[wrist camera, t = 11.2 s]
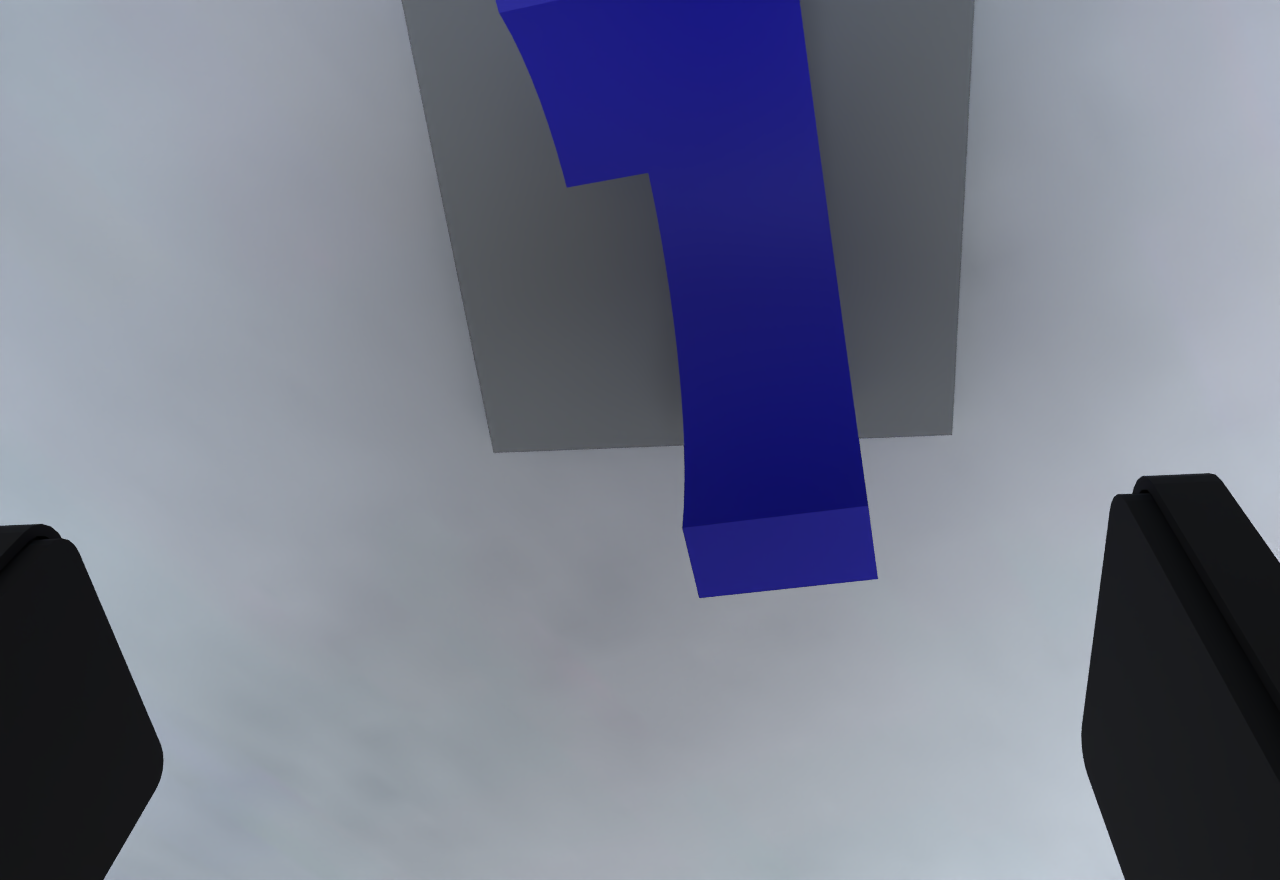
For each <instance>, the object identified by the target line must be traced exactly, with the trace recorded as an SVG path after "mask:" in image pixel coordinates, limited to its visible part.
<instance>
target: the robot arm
mask: <svg viewBox="0 0 1280 880" xmlns="http://www.w3.org/2000/svg"><path fill="white" fill-rule="evenodd" d="M1081 738H1082V752H1083V758H1084V763H1085V768H1086V771H1087V775H1088V777H1089V780H1090V783H1091V786H1092V789H1093V791H1094V794H1095V797H1096V800H1097V803H1098V805H1099V808H1100V811H1101V814H1102V817H1103V819H1104V822H1105V825H1106V828H1107V831H1108V833H1109V836H1110V839H1111V842H1112V845H1113V847H1114V850H1115V853H1116V856H1117V859H1118V861H1119V864H1120V867H1121V870H1122V873H1123V875H1124V878H1125V880H1280V563H1279V561H1278V560H1277V558H1276V557H1275V556H1274V554H1273V553H1272V551H1271V550H1270V549H1269V547H1268V546H1267V544H1266V543H1265V541H1264V540H1263V539H1262V537H1261V536H1260V534H1259V533H1258V531H1257V530H1256V529H1255V527H1254V526H1253V524H1252V523H1251V522H1250V520H1249V519H1248V517H1247V516H1246V514H1245V513H1244V512H1243V510H1242V509H1241V507H1240V506H1239V504H1238V503H1237V502H1236V500H1235V499H1234V497H1233V496H1232V495H1231V493H1230V492H1229V490H1228V489H1227V487H1226V486H1225V485H1224V483H1223V482H1222V481H1221V480H1220V479H1219V478H1218V477H1217V476H1216V475H1215V474H1210V473H1204V474H1181V475H1158V476H1142V477H1141V478H1139V479H1138V480H1137V482H1136V484H1135V486H1134V489H1133V493H1132V494H1117V495H1116V496H1115V497H1114V498H1113V501H1112V503H1111V508H1110V513H1109V521H1108V529H1107V536H1106V544H1105V552H1104V560H1103V567H1102V575H1101V583H1100V591H1099V598H1098V606H1097V614H1096V621H1095V629H1094V637H1093V645H1092V652H1091V660H1090V668H1089V675H1088V683H1087V691H1086V699H1085V706H1084V714H1083V722H1082V733H1081ZM162 771H163V751H162V747H161V744H160V742H159V739H158V737H157V735H156V732H155V730H154V727H153V725H152V723H151V720H150V718H149V716H148V713H147V711H146V709H145V706H144V704H143V702H142V699H141V697H140V695H139V692H138V690H137V688H136V685H135V683H134V680H133V678H132V676H131V673H130V671H129V669H128V666H127V664H126V662H125V659H124V657H123V655H122V652H121V650H120V648H119V645H118V643H117V640H116V638H115V636H114V633H113V631H112V629H111V626H110V624H109V622H108V619H107V617H106V615H105V612H104V610H103V608H102V605H101V603H100V601H99V598H98V596H97V593H96V591H95V589H94V586H93V584H92V582H91V579H90V577H89V575H88V572H87V570H86V568H85V565H84V563H83V561H82V558H81V556H80V553H79V552H78V550H77V548H76V547H75V545H74V544H73V543H72V542H70V541H69V540H66V539H63V538H61V536H60V535H59V533H58V532H57V531H55V530H54V529H53V528H52V527H50V526H47V525H44V524H31V525H8V526H0V880H103V879H104V878H105V876H106V874H107V873H108V871H109V869H110V867H111V866H112V864H113V862H114V861H115V859H116V857H117V855H118V854H119V852H120V850H121V848H122V847H123V845H124V843H125V842H126V840H127V838H128V836H129V835H130V833H131V831H132V830H133V828H134V826H135V824H136V823H137V821H138V819H139V818H140V816H141V814H142V812H143V811H144V809H145V807H146V805H147V804H148V802H149V800H150V799H151V797H152V795H153V793H154V792H155V790H156V788H157V786H158V784H159V782H160V779H161V775H162Z"/></svg>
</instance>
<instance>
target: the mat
mask: <svg viewBox="0 0 1280 880" xmlns="http://www.w3.org/2000/svg"><path fill="white" fill-rule="evenodd" d="M402 4H403V9H404V14H405V19H406V24H407V29H408V34H409V39H410V44H411V49H412V54H413V59H414V63H415V68H416V73H417V78H418V83H419V88H420V93H421V98H422V103H423V108H424V113H425V118H426V122H427V127H428V132H429V137H430V142H431V147H432V152H433V157H434V162H435V167H436V172H437V177H438V182H439V186H440V191H441V196H442V201H443V206H444V211H445V216H446V221H447V226H448V231H449V236H450V241H451V246H452V250H453V255H454V260H455V265H456V270H457V275H458V280H459V285H460V290H461V295H462V300H463V305H464V309H465V314H466V319H467V324H468V329H469V334H470V339H471V344H472V349H473V354H474V359H475V364H476V369H477V373H478V378H479V383H480V388H481V393H482V398H483V403H484V408H485V413H486V418H487V423H488V428H489V433H490V437H491V442H492V447H493V452H494V453H501V452H526V451H552V450H577V449H603V448H628V447H654V446H679V445H684V433H683V414H682V399H681V387H680V375H679V365H678V355H677V345H676V337H675V329H674V320H673V313H672V306H671V298H670V291H669V284H668V278H667V271H666V265H665V259H664V253H663V247H662V241H661V235H660V230H659V224H658V219H657V214H656V208H655V203H654V198H653V193H652V188H651V184H650V179H649V174H648V173H645V174H639V175H634V176H628V177H623V178H617V179H612V180H606V181H601V182H595V183H590V184H584V185H579V186H573V187H568V188H567V187H566V183H565V179H564V176H563V172H562V168H561V165H560V161H559V158H558V154H557V151H556V148H555V144H554V141H553V138H552V135H551V132H550V129H549V125H548V122H547V120H546V117H545V114H544V111H543V108H542V105H541V102H540V100H539V97H538V94H537V92H536V89H535V87H534V84H533V82H532V79H531V76H530V74H529V72H528V70H527V67H526V65H525V63H524V60H523V58H522V56H521V54H520V52H519V50H518V47H517V45H516V43H515V41H514V39H513V37H512V35H511V33H510V32H509V30H508V28H507V26H506V24H505V23H504V21H503V19H502V17H501V16H500V14H499V12H498V8H497V4H496V0H402ZM800 7H801V15H802V22H803V30H804V37H805V45H806V52H807V60H808V67H809V75H810V82H811V90H812V97H813V105H814V112H815V120H816V127H817V135H818V142H819V150H820V157H821V165H822V172H823V180H824V187H825V194H826V202H827V209H828V217H829V224H830V231H831V239H832V246H833V254H834V261H835V268H836V276H837V283H838V291H839V298H840V305H841V313H842V320H843V327H844V335H845V342H846V349H847V357H848V364H849V371H850V378H851V386H852V393H853V400H854V408H855V415H856V422H857V429H858V437H859V438H884V437H909V436H935V435H952V424H953V405H954V386H955V366H956V347H957V328H958V308H959V289H960V270H961V250H962V231H963V212H964V192H965V173H966V154H967V134H968V115H969V96H970V77H971V57H972V38H973V19H974V0H800Z"/></svg>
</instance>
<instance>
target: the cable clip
mask: <svg viewBox="0 0 1280 880" xmlns="http://www.w3.org/2000/svg"><path fill="white" fill-rule="evenodd" d="M496 4H497V8H498V12H499V14H500V16H501V17H502V19H503V21H504V23H505V24H506V26H507V28H508V30H509V32H510V33H511V35H512V37H513V39H514V41H515V43H516V45H517V47H518V50H519V52H520V54H521V56H522V58H523V60H524V63H525V65H526V67H527V70H528V72H529V74H530V76H531V79H532V82H533V84H534V87H535V89H536V92H537V94H538V97H539V100H540V102H541V105H542V108H543V111H544V114H545V117H546V120H547V122H548V125H549V129H550V132H551V135H552V138H553V141H554V144H555V148H556V151H557V154H558V158H559V161H560V165H561V168H562V172H563V176H564V179H565V183H566V187H567V188H568V187H573V186H579V185H584V184H590V183H595V182H601V181H606V180H612V179H617V178H623V177H628V176H634V175H639V174H645V173H648V174H649V179H650V184H651V188H652V193H653V198H654V203H655V208H656V214H657V219H658V224H659V230H660V235H661V241H662V247H663V253H664V259H665V265H666V271H667V278H668V284H669V291H670V298H671V306H672V313H673V320H674V329H675V337H676V345H677V355H678V365H679V375H680V387H681V399H682V414H683V433H684V465H685V483H684V513H683V526H682V528H683V533H684V537H685V541H686V545H687V549H688V553H689V557H690V562H691V566H692V570H693V574H694V578H695V582H696V587H697V591H698V595H699V598H705V597H714V596H723V595H733V594H742V593H751V592H761V591H770V590H779V589H789V588H798V587H807V586H816V585H826V584H835V583H844V582H854V581H863V580H872V579H878V576H877V568H876V561H875V554H874V546H873V539H872V531H871V524H870V516H869V509H868V501H867V494H866V487H865V480H864V473H863V466H862V458H861V451H860V444H859V437H858V429H857V422H856V415H855V408H854V400H853V393H852V386H851V378H850V371H849V364H848V357H847V349H846V342H845V335H844V327H843V320H842V313H841V305H840V298H839V291H838V283H837V276H836V268H835V261H834V254H833V246H832V239H831V231H830V224H829V217H828V209H827V202H826V194H825V187H824V180H823V172H822V165H821V157H820V150H819V142H818V135H817V127H816V120H815V112H814V105H813V97H812V90H811V82H810V75H809V67H808V60H807V52H806V45H805V37H804V30H803V22H802V15H801V7H800V0H496Z"/></svg>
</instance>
